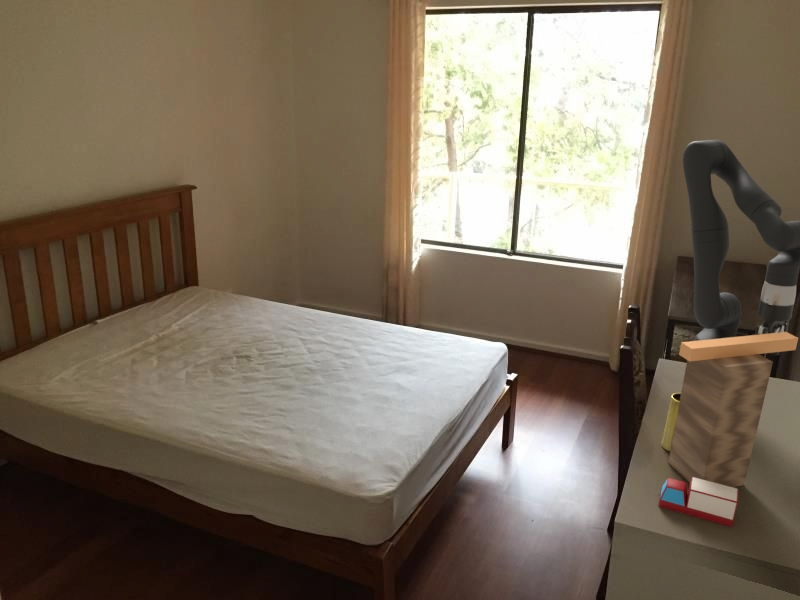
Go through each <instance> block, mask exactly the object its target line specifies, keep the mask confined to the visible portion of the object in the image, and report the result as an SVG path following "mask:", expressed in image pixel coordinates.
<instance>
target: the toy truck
mask: <svg viewBox="0 0 800 600" xmlns="http://www.w3.org/2000/svg"><path fill="white" fill-rule="evenodd" d="M688 487H689V488H687V483H686V482H685V481H682V480H679V479H675V478H672V477H671V478H670V477H668V478H667V479H666V480H665V481H664V483H663V485H662V487H661V490H660V491H661V492H660V495H659V501H658V507H659V508H664V509H666V510H670V511H673V512H677V513H681V514H684V515H688V516H692V517H695V518H698V519H702V520H705V521H709V522H713V523H715V524H719V525H723V526H727V527H729V528H730V527H733V526H734V525H733V524H734V522H735V516H736V512H737V508H738V505H739V489H738V488H737V487H729V486H725V485H721V484H718V483H714V482H710V481H706V480H702V479H698V478H695V477H691V481H690V482H689V486H688Z"/></svg>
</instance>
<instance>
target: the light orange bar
mask: <svg viewBox="0 0 800 600" xmlns="http://www.w3.org/2000/svg"><path fill="white" fill-rule="evenodd" d="M798 341H799V337H797V336H795V335H793V334H792V333H789V332H780V333H770V334H760V335H755V334H751V335H741V336H735V337H730V338H720V339H709V340H699V341H694V340H691V341H680V347H679V353H678V355H679V356H681V357H682V358H684V359H685V360H686V361H687V360H688V361H698V360H708V359H717V358H726V357H736V356H745V355H754V354H764V353H766V354H770V353H773V352H780V353H781V352H788V351H789V352H790V351H796V349H797V344H798Z"/></svg>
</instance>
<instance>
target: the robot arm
mask: <svg viewBox="0 0 800 600" xmlns="http://www.w3.org/2000/svg"><path fill="white" fill-rule="evenodd" d="M731 149H732V148H730V147H729V146H728V145H727V143H725V142H723V141H722V140H720V139H706V140H695V141H691V142H689V143H688V144H687V146H686V147H685V148H684V151H683V153H682V168H683V174H684V179H685V185H686V189H687V195H688V196H687V197H688V203H689V206H688V207H689V214H690V229H691V230H690V232H691V243H692V245H691V246H692V250H693V252H692V253H693V268H694V269H693V270H694V288H693V290H694V291H693V292H694V293H693V312H694V317H695V319H696V322H697V323H698V324H699V326H700V327H702V328H703V329H702V330H701V331H700V332H698V333H697V334H696V335H695V337H694V340H693V341H699V340H709V339H720V338H730V337H737V336H736V335H737V332H738V328H739V325H740V320H741V316H742V306H741V302H740V301H739V299H738V297H737V295H734V294H733V293H730V292H725V291H724V292H720V277H721V276H720V275H721V271H722V270H723V269H722V268H723V266H724V263H725V260H726V258H727V254H728V251H729V247H730V235H729V222H728V220H727V219H728V218H727V216H726V214H725V213H724V210H723V209H722V207H721V206H720V204H719V202H718V201H717V198H715V195H714V192H713V185H712V175H715V176H717V177H718V178H719V179H721V180H722V181H723V182H725V183H726V185H728V187H729V189H730V191H731V194H732V198H733V200H734V202H735V204H736V206H737V208H738V209H739V210H740V211H741V212H742V213H743V214H744V215H745V216H746V217H747V218H748V219H749V220H750V221H751V222H752V223H753V224H754V226H755V228H756V229H757V231H758V233H759V234H760V236H761V238H762V241H763V242H764V243H765V244H766V245H767V246H768V247H769V248H770V249H772V250H774V251H777V252H778V254H777V255H776V256H775V257H773V258H772V259H770V260H769V261H768V263H767V267H766V273H765V278H764V283H763V285H762V289H761V294H760V300H759V306H758V312H757V314H758V317H760V318H762V319H763V321H762V324H761V325H756V327H755V332H754V335H760V334H770V333H780V332H787V333H789V332H788V330H789V325H790V321H791V319H792V317H793V310H794V308H795V307H794V306H795V302H796V298H797V297H796V296H797V283H798V279H799V273H800V220H791V221H784V220H783V219H782V218H781V215H782V211H783V210H782V207H781V205H780V204H779V203H778V202H776V201H775V199H773V198H772V196H770V195H769V194H768V193H767V192H766V191H765V190H764V189H763V188H761V186H759V184H758V183H757V182H756V181H755V180H754V179H753V177H752V176H751V175H750V174H749V172H748V171H747V170H746V169H745V167H744V166H743V165H742V163H741V162H740V160H739V159H738V157H737V156H736V155H735V153H734V152H733V151H732V150H731ZM780 353H781V352H773V353H769V354H770V355H772V356H775V357H776V356H779V355H780ZM760 355H761V356H763V357H765V358H766V357H767V356H766V355H767V353H764V354H760Z"/></svg>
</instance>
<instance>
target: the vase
mask: <svg viewBox="0 0 800 600" xmlns="http://www.w3.org/2000/svg"><path fill="white" fill-rule="evenodd" d="M680 397H681V392H675V393H674V392H673V394H671V396H670V400H669V405H668V406H669V407H668V412H667V416H666V421H665V426H664V429H663V433H662V440H661V442H660V445H661V447H662V448H663V449H665V450H666V451H667V452H670V451H671V446H672V440H673V435H674V429H675V424H676V418H677V413H678V408H679V402H680Z"/></svg>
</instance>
